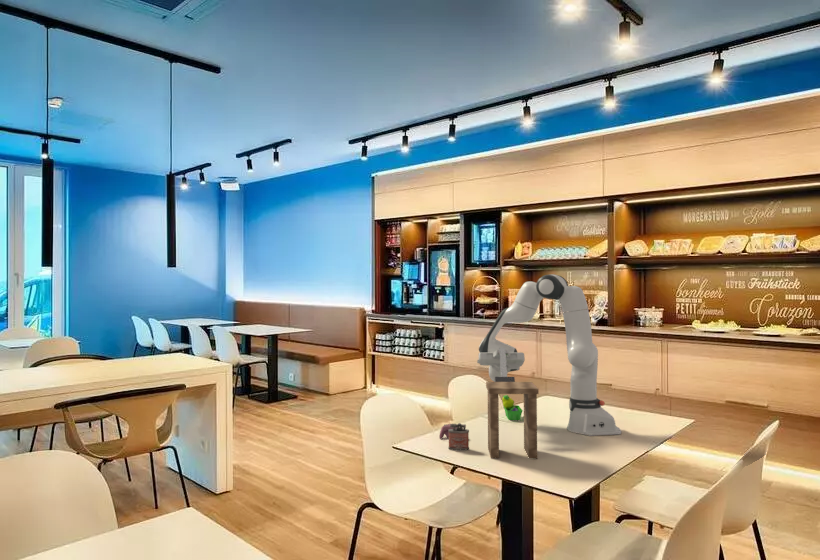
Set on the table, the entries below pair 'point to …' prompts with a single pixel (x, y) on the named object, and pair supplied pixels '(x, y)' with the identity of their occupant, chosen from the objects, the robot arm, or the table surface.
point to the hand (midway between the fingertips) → (502, 351)
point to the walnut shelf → (529, 414)
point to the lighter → (458, 437)
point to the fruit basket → (511, 408)
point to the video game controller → (445, 430)
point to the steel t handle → (503, 368)
